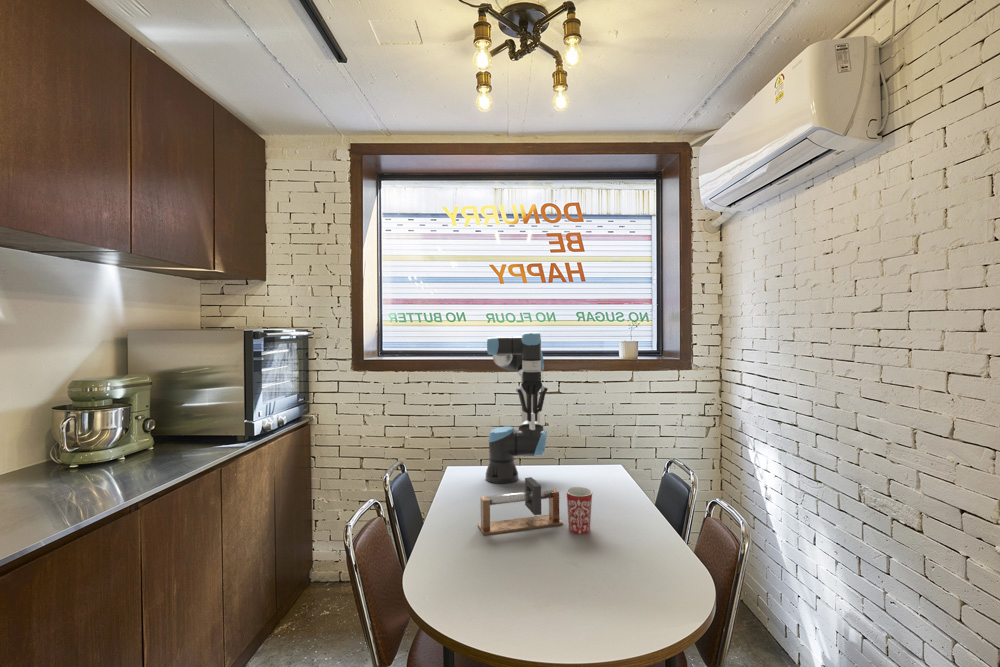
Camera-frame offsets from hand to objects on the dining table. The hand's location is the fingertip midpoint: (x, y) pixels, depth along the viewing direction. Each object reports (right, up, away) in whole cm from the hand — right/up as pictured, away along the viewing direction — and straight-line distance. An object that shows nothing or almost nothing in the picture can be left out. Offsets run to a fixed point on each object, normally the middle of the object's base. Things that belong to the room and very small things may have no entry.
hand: (532, 429), depth 192 cm
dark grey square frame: (-1, -24, -22) cm, 33 cm away
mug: (+15, -29, -26) cm, 42 cm away
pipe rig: (-6, -29, -23) cm, 38 cm away
